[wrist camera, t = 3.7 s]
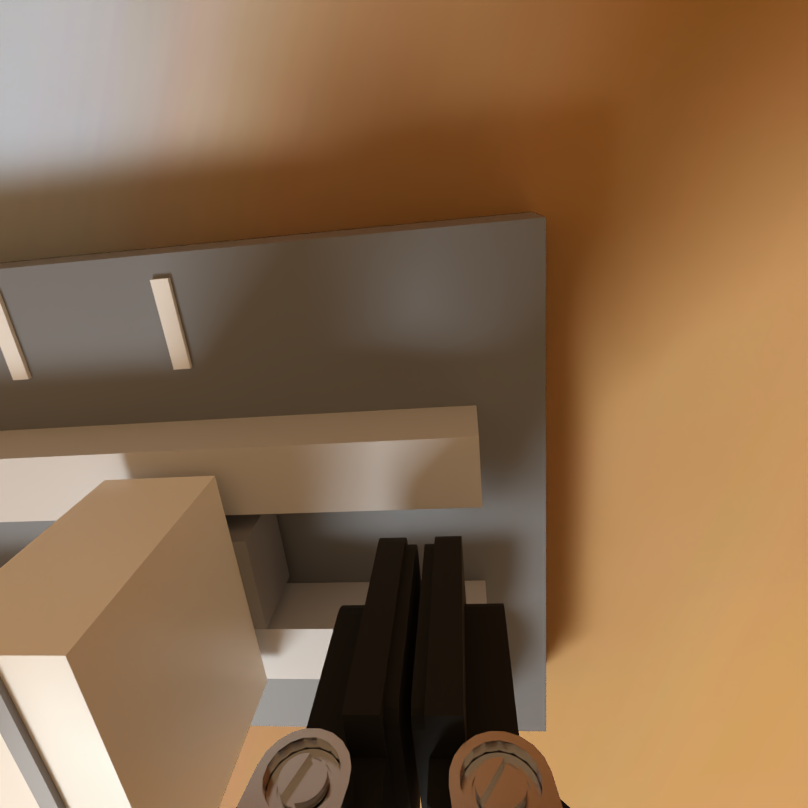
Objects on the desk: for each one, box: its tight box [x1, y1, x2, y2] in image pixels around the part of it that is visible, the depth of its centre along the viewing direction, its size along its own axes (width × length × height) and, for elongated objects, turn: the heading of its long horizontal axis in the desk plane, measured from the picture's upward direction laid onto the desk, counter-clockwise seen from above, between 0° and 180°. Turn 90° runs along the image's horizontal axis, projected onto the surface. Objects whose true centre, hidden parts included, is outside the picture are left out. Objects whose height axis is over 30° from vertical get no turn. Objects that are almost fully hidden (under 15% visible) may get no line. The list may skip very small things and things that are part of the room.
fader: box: [0, 476, 289, 808], centre depth 11 cm, size 3×6×6 cm, turn 6°
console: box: [0, 212, 546, 731], centre depth 14 cm, size 22×14×4 cm, turn 96°
